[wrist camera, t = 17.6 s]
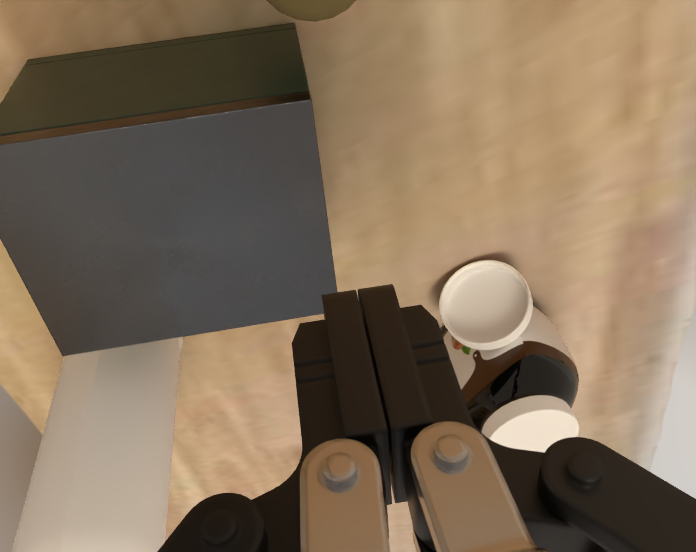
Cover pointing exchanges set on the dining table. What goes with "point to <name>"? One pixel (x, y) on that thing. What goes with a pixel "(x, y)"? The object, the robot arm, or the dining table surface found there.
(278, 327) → the dining table surface
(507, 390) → the spread jar
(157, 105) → the dark green storage bin
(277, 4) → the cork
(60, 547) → the bottle
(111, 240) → the dark gray flat panel
